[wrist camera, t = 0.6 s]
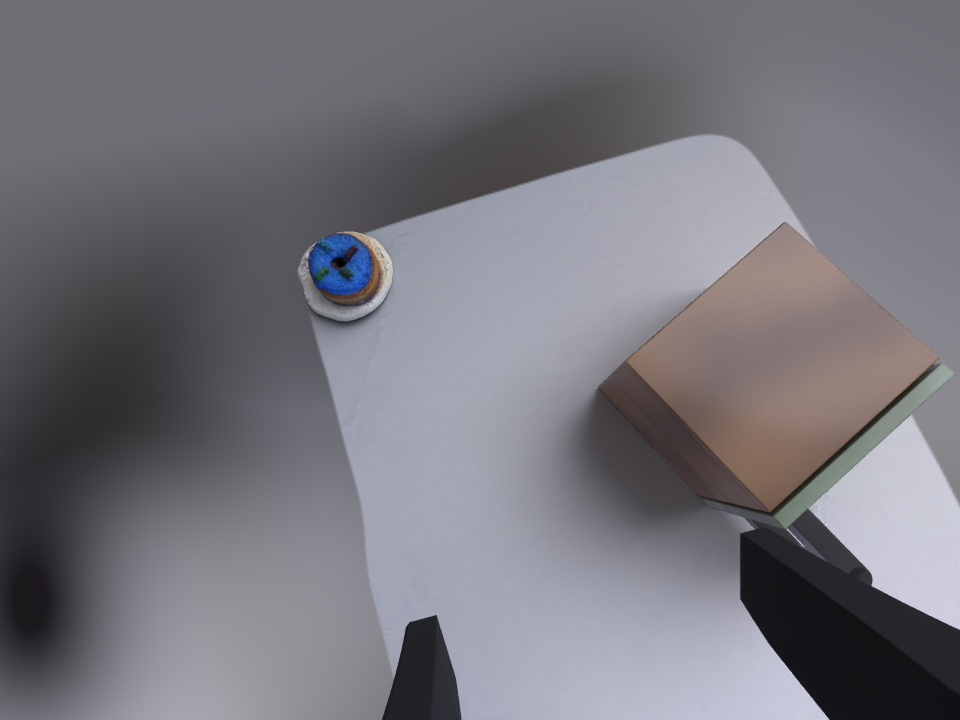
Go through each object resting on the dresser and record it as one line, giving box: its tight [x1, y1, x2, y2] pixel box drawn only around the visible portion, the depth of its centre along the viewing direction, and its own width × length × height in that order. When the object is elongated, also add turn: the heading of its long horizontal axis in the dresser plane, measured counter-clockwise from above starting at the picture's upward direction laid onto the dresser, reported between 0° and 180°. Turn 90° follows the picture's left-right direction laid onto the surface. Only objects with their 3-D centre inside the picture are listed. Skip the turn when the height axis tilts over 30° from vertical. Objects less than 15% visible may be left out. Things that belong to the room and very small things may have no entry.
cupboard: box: [598, 222, 939, 512], centre depth 30 cm, size 10×12×11 cm
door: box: [701, 363, 954, 586], centre depth 29 cm, size 6×12×10 cm, turn 132°
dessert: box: [298, 232, 393, 321], centre depth 39 cm, size 8×7×6 cm
